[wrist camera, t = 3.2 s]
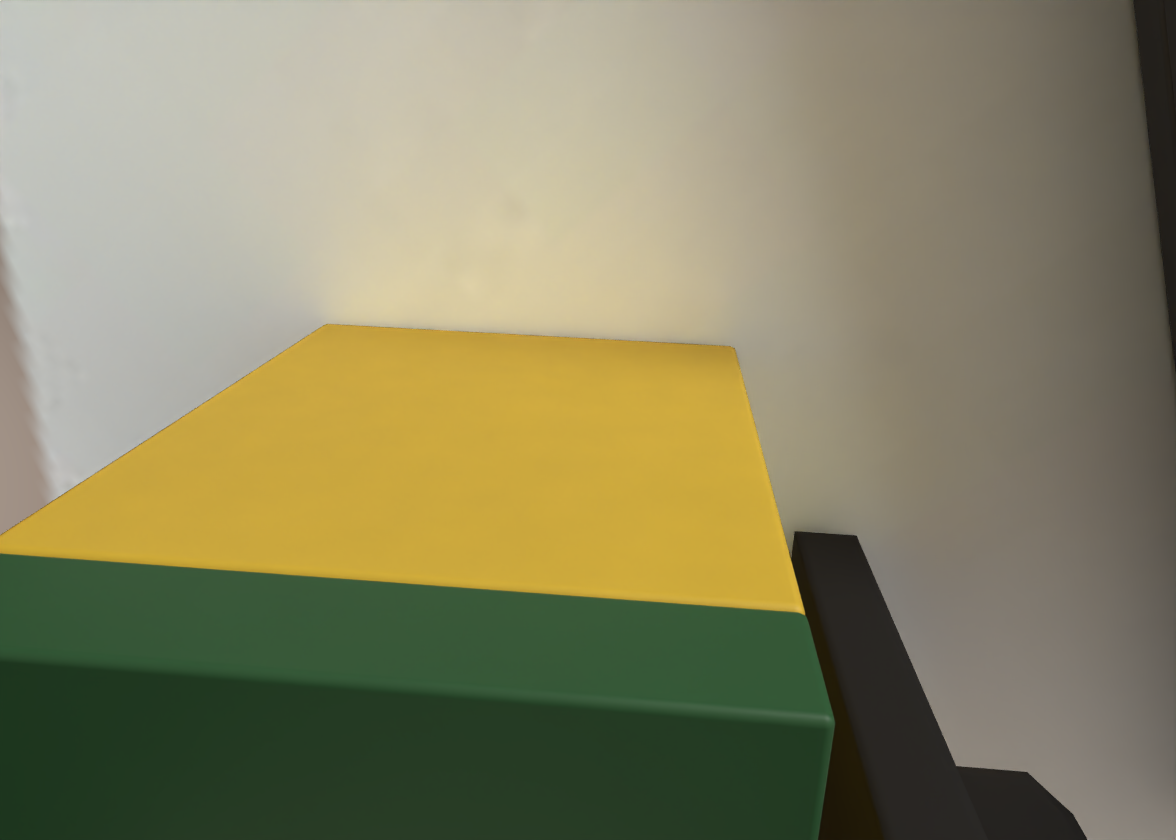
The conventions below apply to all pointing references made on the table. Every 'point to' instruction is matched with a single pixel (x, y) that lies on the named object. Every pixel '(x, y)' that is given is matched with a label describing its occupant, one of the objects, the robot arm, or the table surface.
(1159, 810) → the table surface
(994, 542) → the table surface
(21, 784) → the sponge
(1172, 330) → the tray
